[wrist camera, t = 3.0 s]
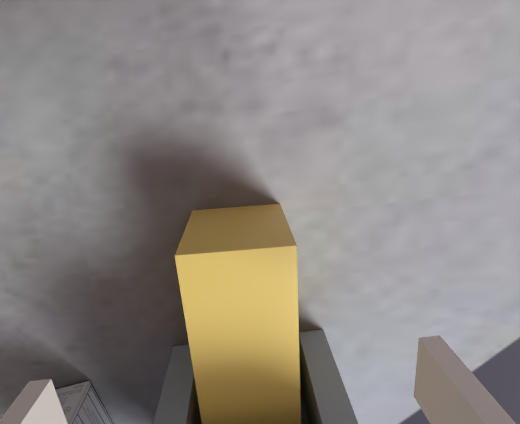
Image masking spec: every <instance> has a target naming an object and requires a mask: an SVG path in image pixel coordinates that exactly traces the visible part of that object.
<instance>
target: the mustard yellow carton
mask: <svg viewBox="0 0 520 424" xmlns="http://www.w3.org/2000/svg"><path fill="white" fill-rule="evenodd" d="M175 261H176V267H177V273H178V279H179V286H180V292H181V298H182V304H183V310H184V316H185V322H186V329H187V335H188V341H189V347H190V353H191V359H192V366H193V372H194V378H195V384H196V390H197V396H198V403H199V409H200V415H201V421H202V424H301V402H300V360H299V318H298V277H297V245H296V242H295V240H294V238H293V235H292V233H291V230H290V228H289V225H288V223H287V220H286V218H285V215H284V213H283V210H282V208H281V205H280V204H268V205H255V206H242V207H229V208H216V209H204V210H192V213H191V216H190V218H189V221H188V223H187V226H186V228H185V231H184V233H183V236H182V238H181V241H180V243H179V246H178V248H177V251H176V254H175Z"/></svg>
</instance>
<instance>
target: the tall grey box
mask: <svg viewBox="0 0 520 424" xmlns="http://www.w3.org/2000/svg"><path fill="white" fill-rule="evenodd" d="M299 354H300V374H301V389H300V402H301V424H358V422H357V419H356V417H355V414H354V411H353V409H352V406H351V403H350V401H349V398H348V395H347V392H346V390H345V387H344V384H343V382H342V379H341V376H340V374H339V371H338V368H337V366H336V363H335V360H334V358H333V355H332V352H331V349H330V347H329V344H328V341H327V339H326V336H325V333H324V331H323V329H322V330H313V331H304V332H299ZM153 424H202V421H201V415H200V409H199V403H198V396H197V390H196V384H195V378H194V372H193V366H192V359H191V353H190V347H189V344H188V345H179V346H173V348H172V352H171V356H170V360H169V364H168V368H167V372H166V376H165V380H164V383H163V387H162V391H161V395H160V399H159V403H158V407H157V411H156V415H155V419H154V422H153Z"/></svg>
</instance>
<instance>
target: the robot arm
mask: <svg viewBox="0 0 520 424" xmlns="http://www.w3.org/2000/svg"><path fill="white" fill-rule="evenodd" d="M414 397H415V399H416V401H417V402H418V404H419V406H420V407H421V409H422V411H423V412H424V414H425V415H426V417H427V419H428V421H429V422H430V424H516V423H515V422H514V421H513V420H512V419H511V418H510V417H509V415H508V414H507V413H506V412H505V411H504V409H503V408H502V407H501V406H500V405H499V404H498V403H497V401H496V400H495V399H494V398H493V397H492V396H491V394H490V393H489V392H488V391H487V390H486V389H485V388H484V386H483V385H482V384H481V383H480V382H479V381H478V379H477V378H476V377H475V376H474V375H473V374H472V372H471V371H470V370H469V369H468V368H467V367H466V365H465V364H464V363H463V362H462V361H461V360H460V359H459V357H458V356H457V355H456V354H455V353H454V352H453V350H452V349H451V348H450V347H449V346H448V345H447V343H446V342H445V341H444V340H443V339H442V338H441V337H440V336H432V337H423V338H419V344H418V355H417V366H416V378H415V389H414ZM0 424H68V423H67V421H66V418H65V415H64V412H63V410H62V407H61V404H60V401H59V399H58V396H57V393H56V391H55V388H54V385H53V382H52V380H51V379H45V380H36V381H29V382H28V383H27V384H26V386H25V387H24V388H23V390H22V391H21V392H20V394H19V395H18V396H17V398H16V399H15V400H14V402H13V403H12V404H11V406H10V407H9V408H8V410H7V411H6V412H5V414H4V415H3V416H2V418H1V419H0Z"/></svg>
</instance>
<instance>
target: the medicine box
mask: <svg viewBox="0 0 520 424" xmlns="http://www.w3.org/2000/svg"><path fill="white" fill-rule="evenodd" d="M55 391H56V393H57V396H58V399H59V401H60V404H61V407H62V410H63V412H64V415H65V418H66V421H67V423H68V424H113V423H112V421H111V419H110V417H109V416H108V414H107V412H106V410H105V409H104V407H103V405H102V403H101V402H100V400H99V398H98V396H97V394H96V393H95V391H94V389H93V387H92V386H91V383H90V381H86V382H83V383H79V384H75V385H71V386H67V387H63V388H59V389H55Z"/></svg>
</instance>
